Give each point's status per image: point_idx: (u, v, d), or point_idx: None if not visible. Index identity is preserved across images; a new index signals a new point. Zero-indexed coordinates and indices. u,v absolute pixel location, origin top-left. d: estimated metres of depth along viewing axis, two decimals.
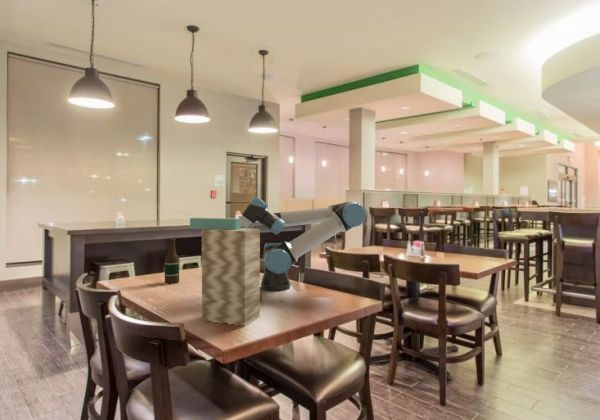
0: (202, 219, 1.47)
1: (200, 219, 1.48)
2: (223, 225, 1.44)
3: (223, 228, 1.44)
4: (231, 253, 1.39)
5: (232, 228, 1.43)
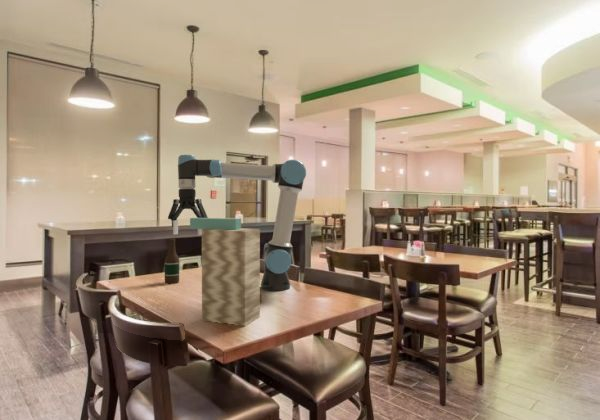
0: (202, 219, 1.47)
1: (200, 219, 1.48)
2: (223, 225, 1.44)
3: (223, 228, 1.44)
4: (231, 253, 1.39)
5: (232, 228, 1.43)
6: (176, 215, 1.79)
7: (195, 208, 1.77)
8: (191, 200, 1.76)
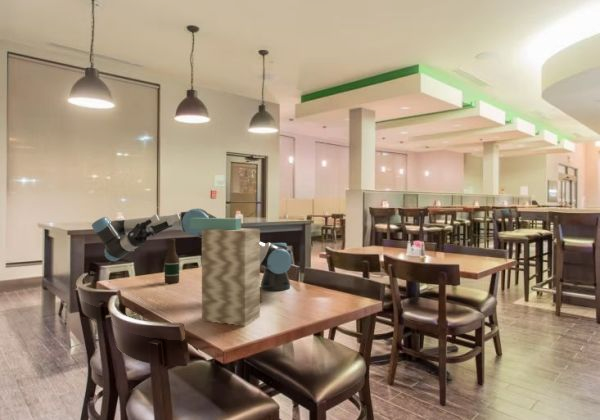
0: (202, 219, 1.47)
1: (200, 219, 1.48)
2: (223, 225, 1.44)
3: (223, 228, 1.44)
4: (231, 253, 1.39)
5: (232, 228, 1.43)
6: (163, 227, 1.71)
7: (141, 230, 1.63)
8: (138, 236, 1.65)
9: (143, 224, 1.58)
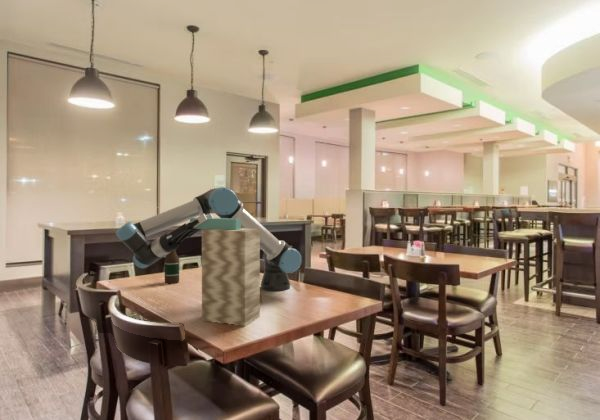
0: None
1: None
2: (223, 225, 1.44)
3: (223, 228, 1.44)
4: (231, 253, 1.39)
5: (232, 228, 1.43)
6: (194, 229, 1.54)
7: None
8: (171, 241, 1.51)
9: (190, 224, 1.47)
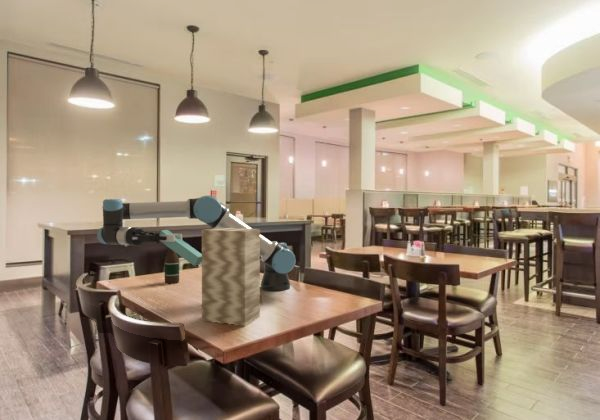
0: None
1: None
2: (186, 255, 1.50)
3: (184, 257, 1.51)
4: (231, 253, 1.39)
5: (191, 262, 1.50)
6: None
7: None
8: None
9: (157, 238, 1.52)
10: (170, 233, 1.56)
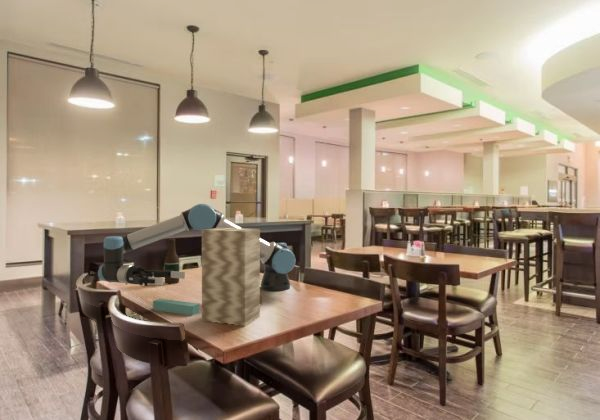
0: (164, 302, 1.56)
1: (161, 303, 1.56)
2: (182, 310, 1.52)
3: (182, 313, 1.52)
4: (231, 253, 1.39)
5: (189, 314, 1.51)
6: (164, 276, 1.63)
7: (141, 278, 1.55)
8: None
9: (146, 281, 1.49)
10: (162, 299, 1.59)
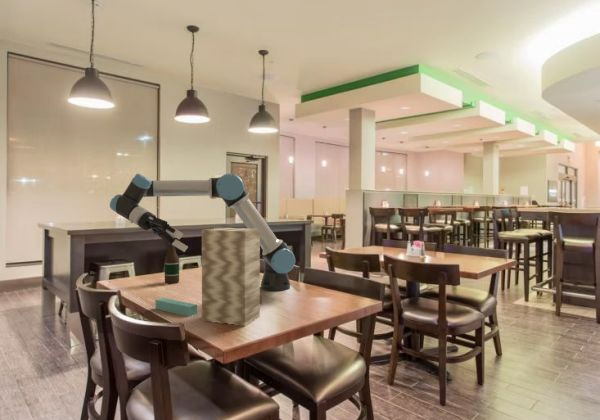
0: (164, 302, 1.57)
1: (163, 302, 1.57)
2: (180, 310, 1.52)
3: (180, 314, 1.52)
4: (231, 253, 1.39)
5: (186, 315, 1.50)
6: (167, 239, 1.68)
7: None
8: (150, 223, 1.61)
9: (167, 226, 1.56)
10: (165, 299, 1.60)
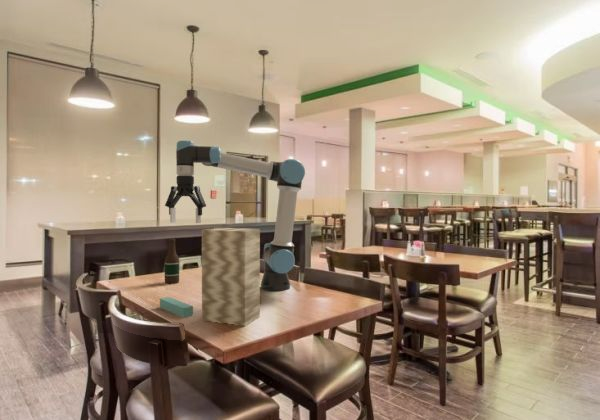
0: (166, 301, 1.58)
1: (165, 301, 1.58)
2: (177, 311, 1.51)
3: (176, 314, 1.51)
4: (231, 253, 1.39)
5: (181, 316, 1.49)
6: (174, 202, 1.75)
7: (193, 195, 1.73)
8: (189, 187, 1.72)
9: (201, 208, 1.72)
10: (169, 298, 1.62)
